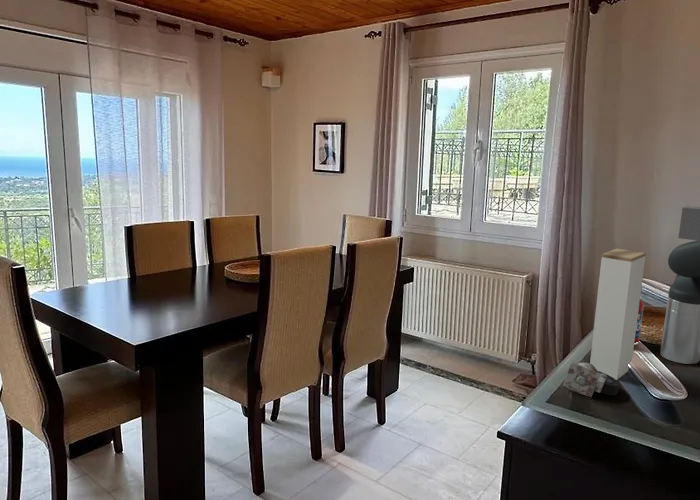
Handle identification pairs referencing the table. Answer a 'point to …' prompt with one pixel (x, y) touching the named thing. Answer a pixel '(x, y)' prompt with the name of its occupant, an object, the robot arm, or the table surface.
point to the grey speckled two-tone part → (589, 380)
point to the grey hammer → (690, 223)
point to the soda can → (639, 320)
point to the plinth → (617, 311)
